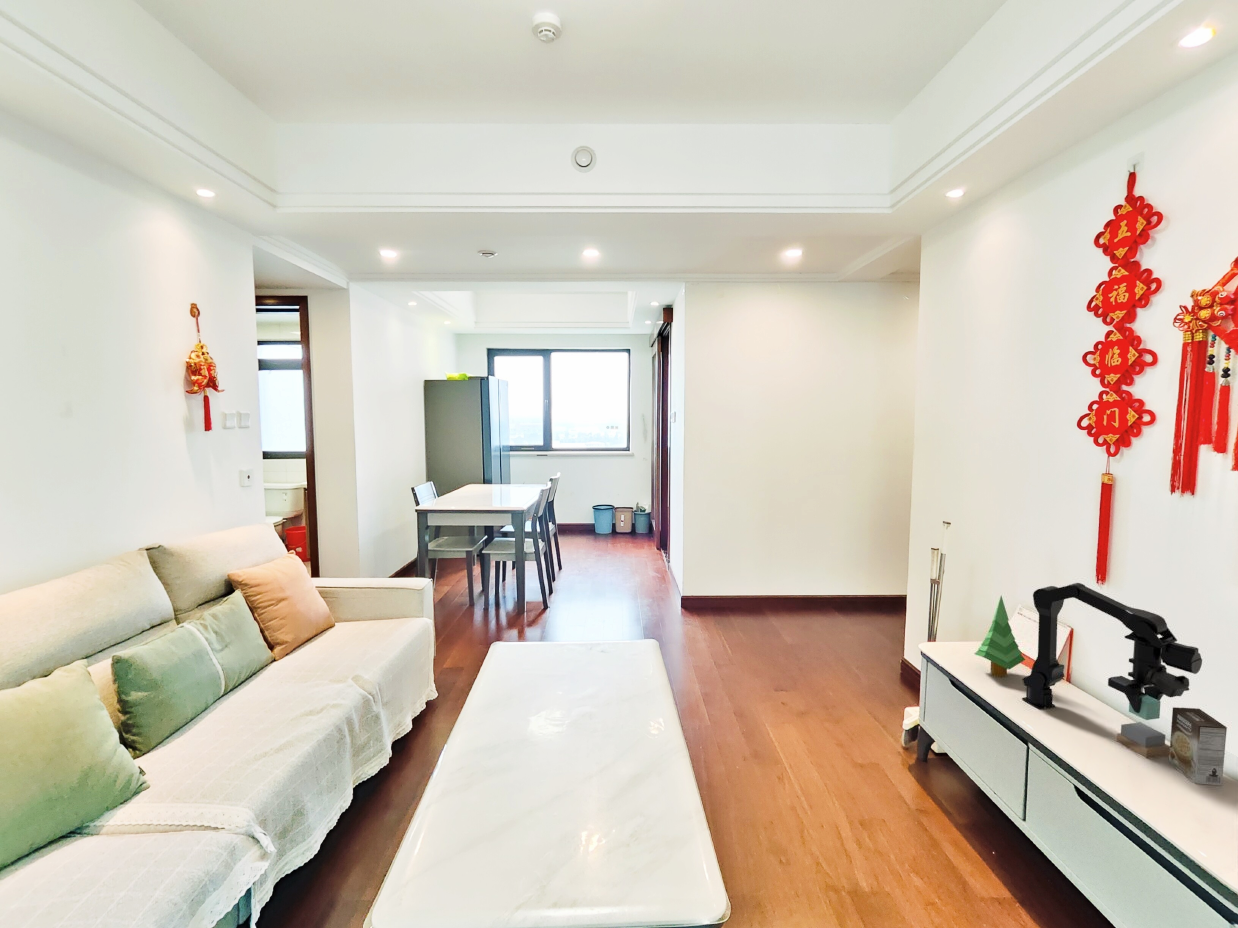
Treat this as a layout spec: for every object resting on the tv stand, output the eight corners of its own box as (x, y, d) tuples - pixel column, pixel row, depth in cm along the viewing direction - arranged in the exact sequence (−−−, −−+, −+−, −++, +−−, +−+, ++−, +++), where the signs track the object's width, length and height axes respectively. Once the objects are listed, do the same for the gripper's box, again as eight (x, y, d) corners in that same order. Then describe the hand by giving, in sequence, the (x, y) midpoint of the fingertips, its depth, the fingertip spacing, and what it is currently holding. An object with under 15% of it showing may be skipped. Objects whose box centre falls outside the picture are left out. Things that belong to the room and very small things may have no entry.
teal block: (1128, 711, 158) (1129, 694, 158) (1141, 709, 159) (1143, 693, 159) (1146, 719, 154) (1147, 702, 153) (1159, 718, 155) (1160, 701, 154)
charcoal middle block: (1120, 734, 160) (1121, 724, 159) (1139, 731, 161) (1140, 721, 160) (1145, 747, 153) (1145, 737, 153) (1164, 744, 154) (1165, 734, 154)
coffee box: (1167, 761, 151) (1170, 705, 149) (1194, 763, 150) (1198, 707, 148) (1194, 783, 142) (1198, 724, 140) (1224, 786, 141) (1228, 726, 139)
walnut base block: (1116, 743, 160) (1116, 733, 160) (1139, 740, 162) (1140, 730, 161) (1146, 760, 153) (1146, 749, 152) (1170, 756, 154) (1171, 746, 153)
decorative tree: (965, 669, 206) (967, 591, 204) (996, 662, 211) (999, 586, 208) (1000, 686, 193) (1003, 603, 191) (1032, 678, 198) (1036, 597, 195)
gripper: (1151, 675, 146) (1147, 731, 147) (1209, 668, 148) (1205, 723, 150) (1107, 657, 157) (1104, 709, 158) (1162, 650, 159) (1159, 702, 161)
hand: (1143, 711), depth 156 cm, fingers closed on teal block, 4 cm apart
